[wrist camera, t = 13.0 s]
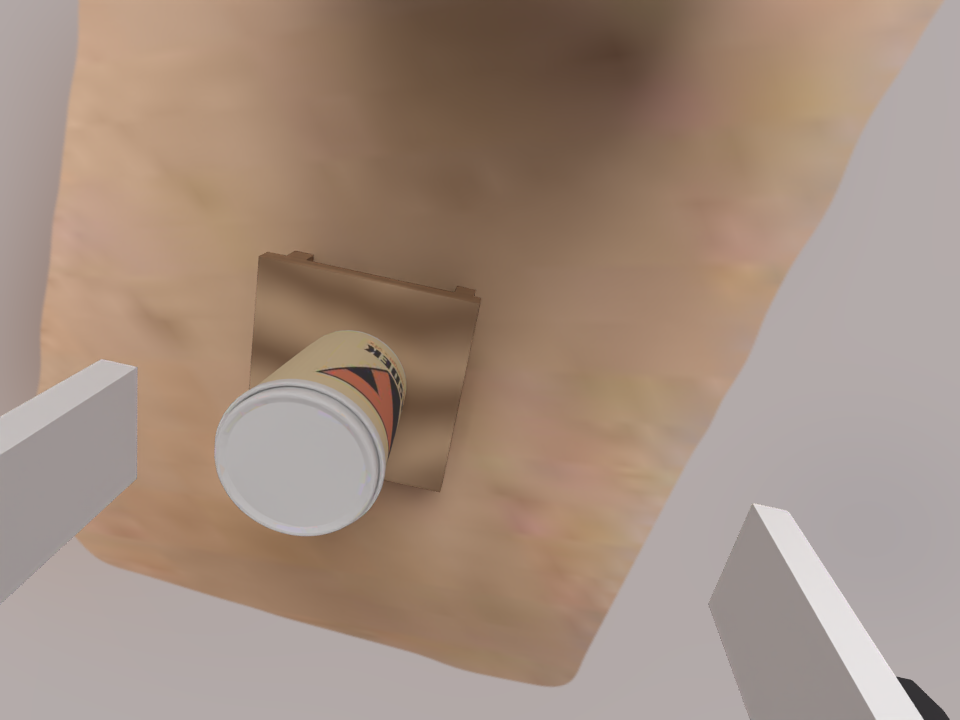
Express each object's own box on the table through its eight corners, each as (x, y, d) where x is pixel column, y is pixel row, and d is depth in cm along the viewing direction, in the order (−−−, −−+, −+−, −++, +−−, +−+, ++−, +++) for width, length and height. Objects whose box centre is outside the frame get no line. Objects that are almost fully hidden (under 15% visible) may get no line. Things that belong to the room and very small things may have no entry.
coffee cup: (438, 419, 45) (407, 518, 34) (321, 453, 47) (256, 558, 36) (388, 300, 42) (337, 365, 31) (266, 340, 44) (176, 416, 33)
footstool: (288, 241, 47) (258, 256, 42) (485, 284, 47) (479, 304, 42) (272, 417, 53) (244, 450, 47) (448, 455, 53) (440, 492, 48)
